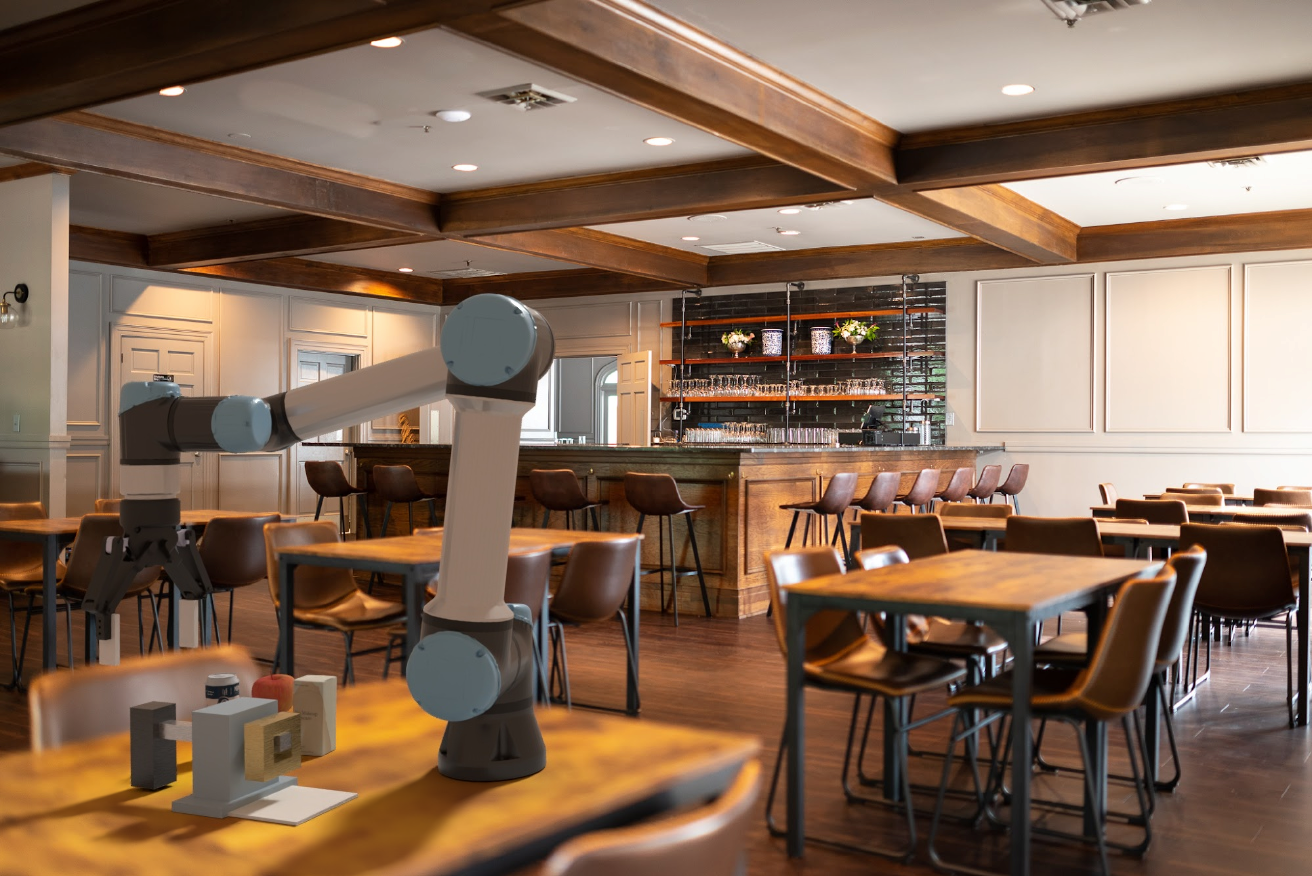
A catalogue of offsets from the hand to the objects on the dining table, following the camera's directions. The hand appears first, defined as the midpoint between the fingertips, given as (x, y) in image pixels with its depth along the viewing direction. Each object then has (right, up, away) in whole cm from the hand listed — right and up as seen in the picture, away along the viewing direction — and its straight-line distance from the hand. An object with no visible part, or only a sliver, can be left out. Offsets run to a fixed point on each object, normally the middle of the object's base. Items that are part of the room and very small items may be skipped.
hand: (150, 655), depth 156 cm
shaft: (+10, -17, -4) cm, 20 cm away
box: (+17, -18, +17) cm, 30 cm away
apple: (+4, -18, +40) cm, 44 cm away
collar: (+19, -10, -8) cm, 23 cm away
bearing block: (+13, -18, -5) cm, 23 cm away
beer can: (+4, -18, +15) cm, 23 cm away
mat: (+22, -17, -9) cm, 29 cm away
